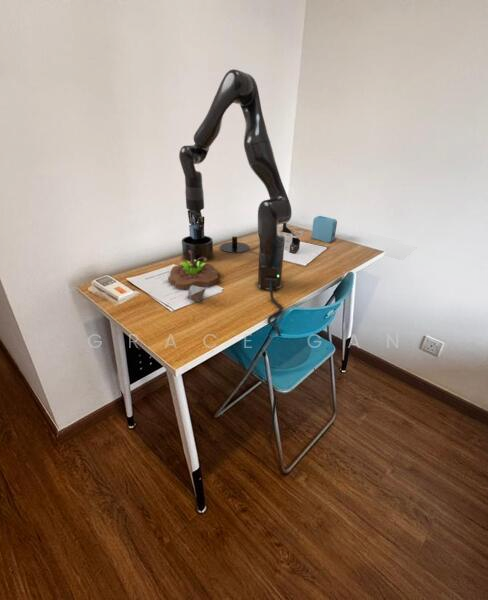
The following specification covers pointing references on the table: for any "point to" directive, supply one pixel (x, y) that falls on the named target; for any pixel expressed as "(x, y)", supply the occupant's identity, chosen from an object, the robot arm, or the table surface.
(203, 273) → the plant
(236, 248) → the lid
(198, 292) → the paper boat
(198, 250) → the pot
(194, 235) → the block
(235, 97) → the robot arm
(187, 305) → the table surface
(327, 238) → the data package
